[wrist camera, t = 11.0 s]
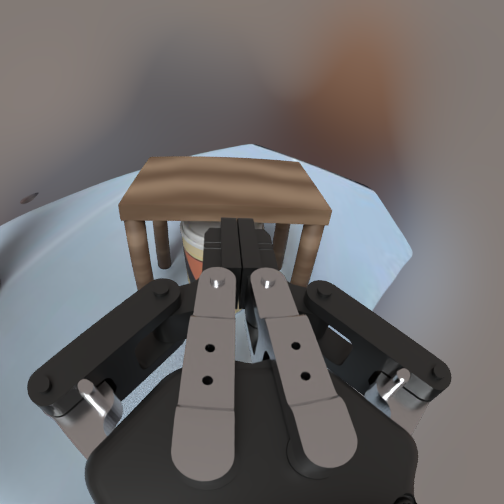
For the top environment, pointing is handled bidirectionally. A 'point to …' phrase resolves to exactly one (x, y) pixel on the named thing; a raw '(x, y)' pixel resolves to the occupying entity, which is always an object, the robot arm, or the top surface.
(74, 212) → the top surface
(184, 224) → the coffee cup
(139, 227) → the cover stand
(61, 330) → the top surface
